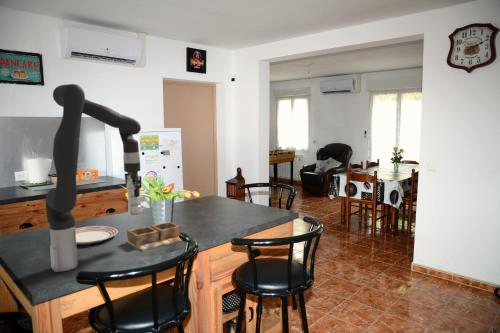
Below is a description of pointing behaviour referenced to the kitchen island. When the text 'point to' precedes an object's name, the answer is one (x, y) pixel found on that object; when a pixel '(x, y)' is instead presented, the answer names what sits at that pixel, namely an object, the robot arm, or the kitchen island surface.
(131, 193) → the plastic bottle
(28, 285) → the kitchen island surface
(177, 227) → the socket board
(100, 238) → the dinner plate
